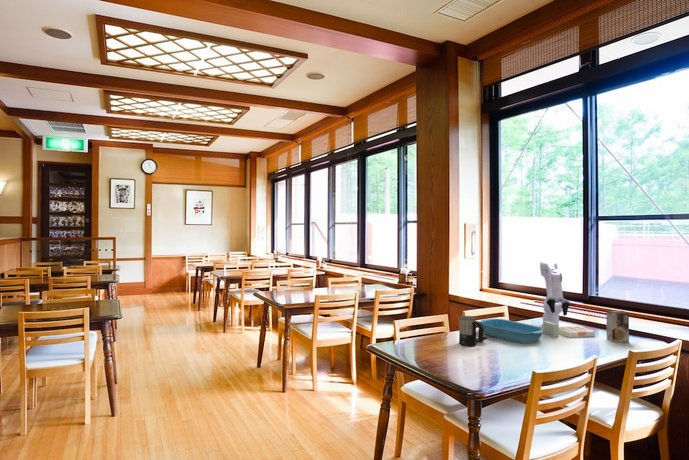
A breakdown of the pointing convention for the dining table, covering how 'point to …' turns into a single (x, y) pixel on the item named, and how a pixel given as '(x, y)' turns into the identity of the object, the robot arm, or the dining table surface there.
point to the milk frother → (470, 331)
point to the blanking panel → (550, 328)
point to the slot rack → (575, 331)
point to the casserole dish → (511, 330)
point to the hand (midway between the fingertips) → (559, 313)
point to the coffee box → (618, 326)
